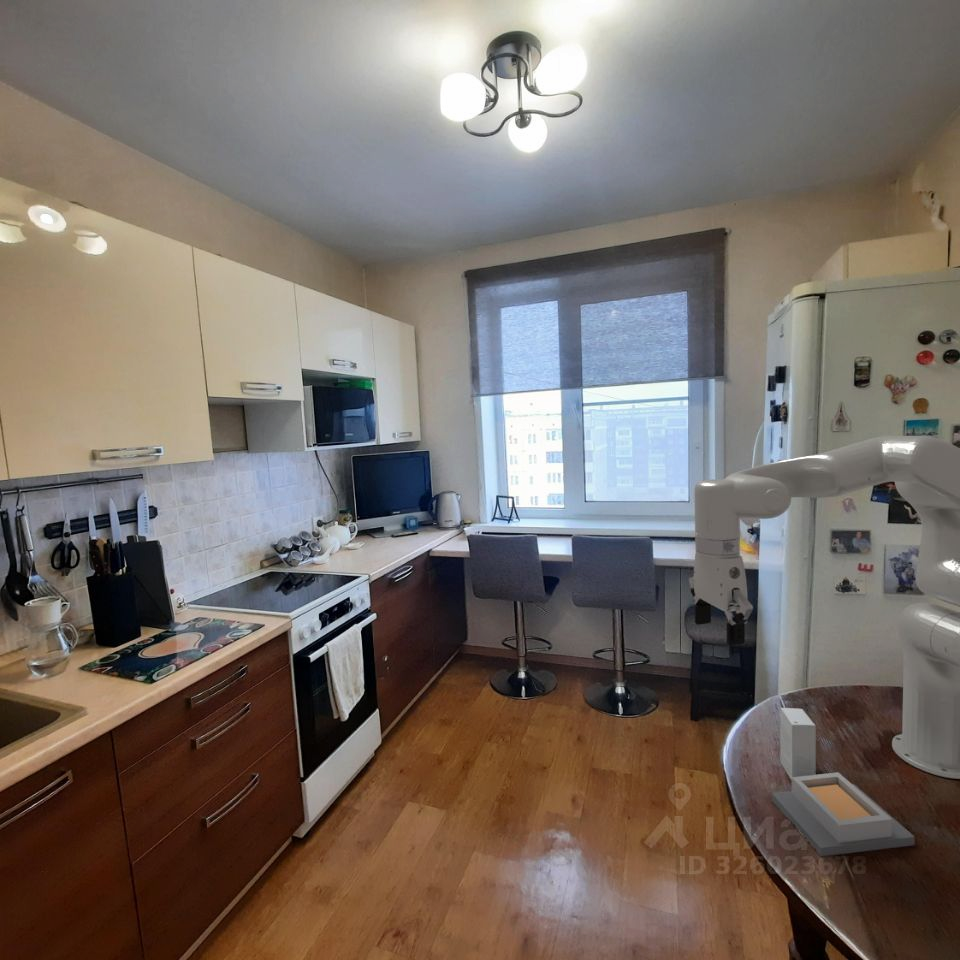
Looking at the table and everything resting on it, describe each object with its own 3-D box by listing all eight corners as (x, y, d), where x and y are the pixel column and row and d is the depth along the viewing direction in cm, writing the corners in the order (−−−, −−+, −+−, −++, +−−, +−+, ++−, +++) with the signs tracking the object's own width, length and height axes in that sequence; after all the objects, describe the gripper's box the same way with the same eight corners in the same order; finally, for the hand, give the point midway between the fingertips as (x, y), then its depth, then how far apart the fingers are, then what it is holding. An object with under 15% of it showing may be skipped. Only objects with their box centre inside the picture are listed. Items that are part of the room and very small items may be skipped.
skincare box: (816, 784, 93) (816, 726, 92) (792, 782, 94) (791, 724, 93) (802, 763, 99) (802, 708, 98) (779, 761, 100) (779, 706, 99)
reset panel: (853, 791, 91) (853, 768, 91) (914, 845, 79) (915, 819, 79) (771, 800, 90) (771, 777, 90) (820, 856, 78) (820, 830, 78)
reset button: (836, 792, 89) (836, 784, 89) (874, 827, 81) (874, 819, 81) (805, 795, 88) (805, 788, 88) (840, 831, 80) (840, 823, 80)
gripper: (769, 554, 83) (769, 650, 85) (707, 534, 100) (708, 614, 102) (729, 559, 82) (730, 655, 84) (673, 538, 99) (675, 618, 101)
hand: (718, 633), depth 93 cm, fingers open, 9 cm apart
